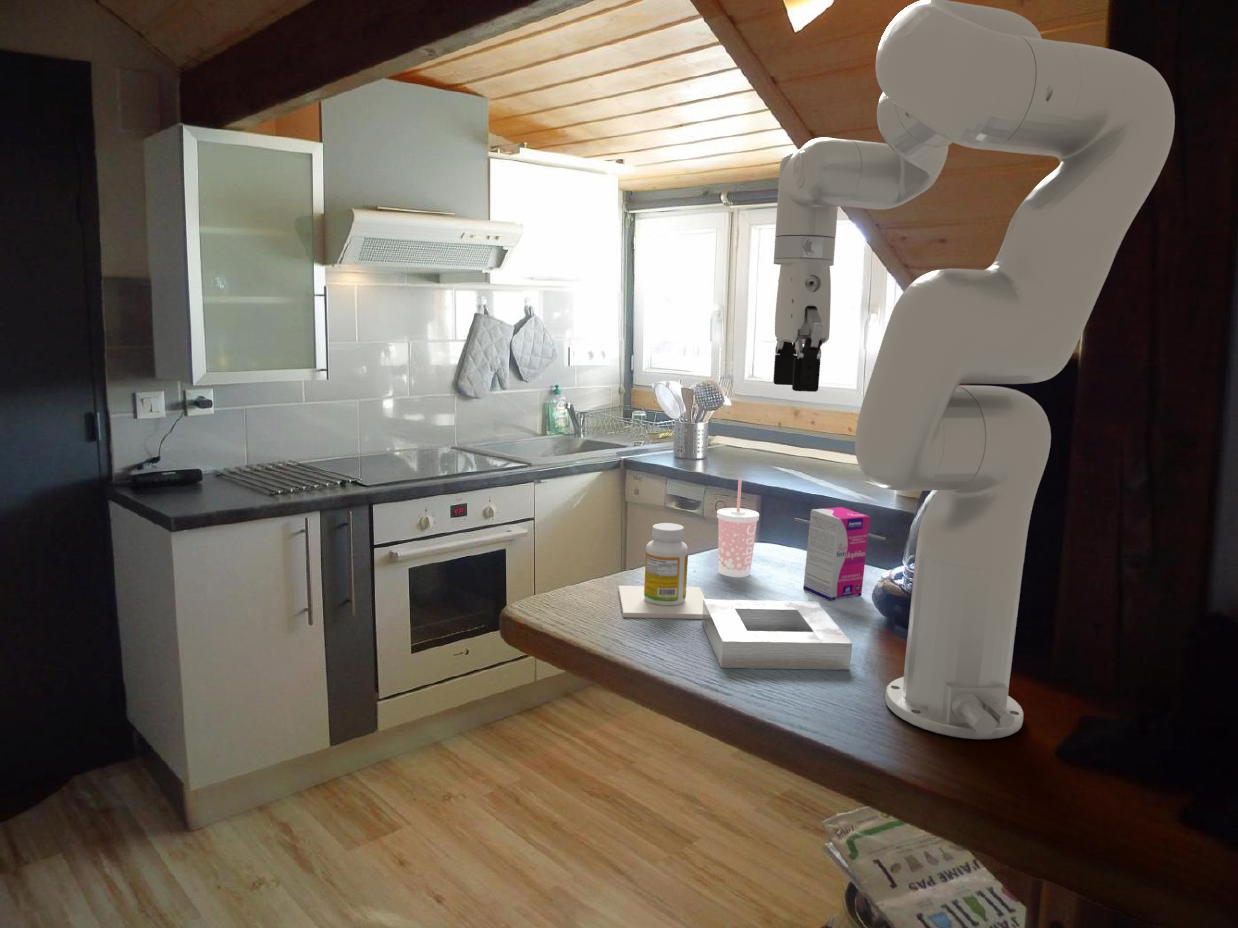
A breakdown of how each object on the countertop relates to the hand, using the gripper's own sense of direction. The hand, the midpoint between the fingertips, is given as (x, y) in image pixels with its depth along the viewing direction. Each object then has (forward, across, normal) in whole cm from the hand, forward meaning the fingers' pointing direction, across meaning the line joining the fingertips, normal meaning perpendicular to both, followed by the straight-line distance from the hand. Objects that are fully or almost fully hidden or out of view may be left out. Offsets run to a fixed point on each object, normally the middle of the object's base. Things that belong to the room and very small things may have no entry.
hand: (794, 387), depth 119 cm
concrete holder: (+28, -18, +6) cm, 34 cm away
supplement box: (+28, +1, -8) cm, 29 cm away
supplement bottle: (+28, -5, +16) cm, 32 cm away
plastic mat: (+28, -4, +16) cm, 33 cm away
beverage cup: (+28, +10, +4) cm, 30 cm away
